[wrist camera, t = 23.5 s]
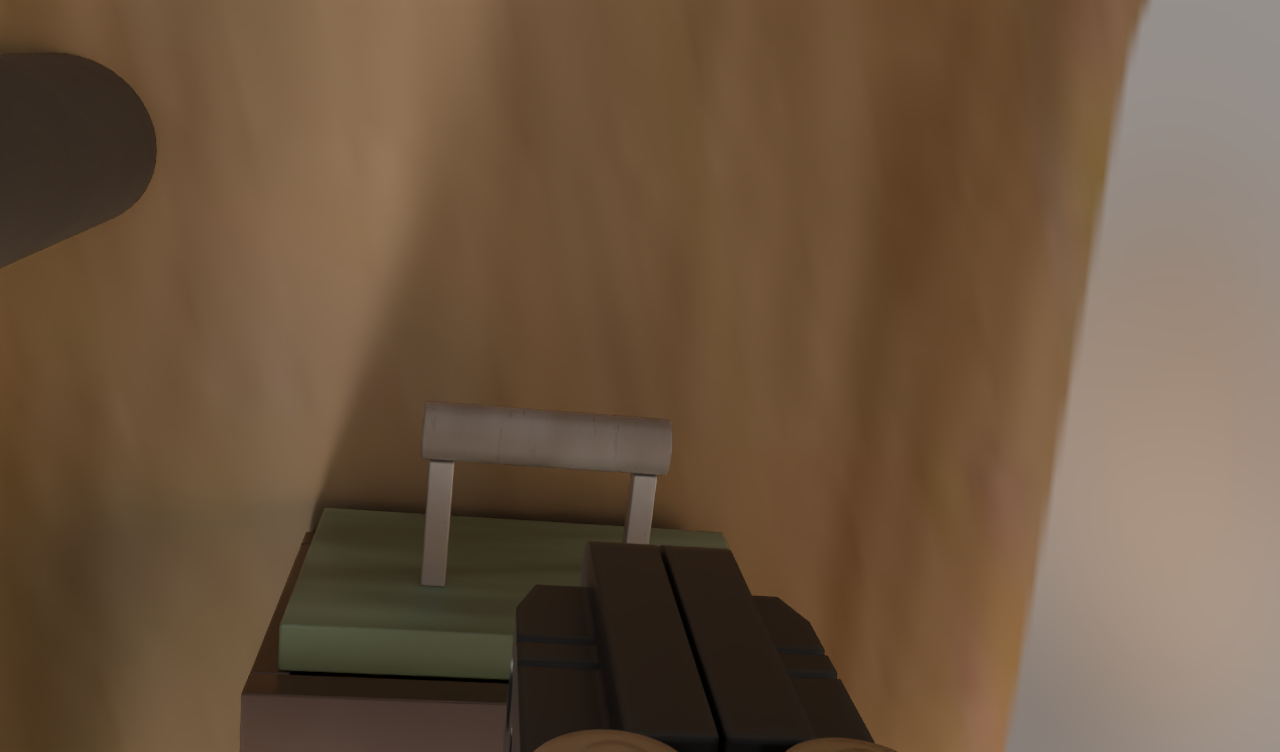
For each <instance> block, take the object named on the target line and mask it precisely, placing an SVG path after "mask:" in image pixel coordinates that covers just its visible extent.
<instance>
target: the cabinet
mask: <svg viewBox="0 0 1280 752" xmlns="http://www.w3.org/2000/svg"><path fill="white" fill-rule="evenodd" d="M314 534H315V532H306V534H305V536H304V539H303V541H302V544H301V547H300V549H299V551H298V554H297V557H296V559H295V562H294V564H293V567H292V569H291V572H290V574H289V577H288V579H287V582H286V584H285V587H284V589H283V592H282V594H281V597H280V599H279V602H278V604H277V607H276V609H275V612H274V614H273V617H272V619H271V622H270V624H269V627H268V630H267V632H266V635H265V637H264V640H263V642H262V645H261V647H260V650H259V652H258V655H257V657H256V660H255V662H254V665H253V667H252V670H251V672H250V674H249V676H248V679H247V681H246V684H245V686H244V689H243V691H242V694H241V724H240V752H503V736H504V725H505V715H506V705H507V695H508V685H509V684H507V683H483V682H458V681H434V680H409V679H384V678H360V677H335V676H325V675H326V672H306V671H282V670H279V668H278V652H279V626H280V624H281V621H282V618H283V616H284V613H285V610H286V608H287V605H288V602H289V600H290V597H291V594H292V592H293V589H294V587H295V584H296V581H297V579H298V576H299V573H300V571H301V568H302V565H303V563H304V560H305V558H306V555H307V552H308V550H309V547H310V544H311V542H312V539H313V536H314Z"/></svg>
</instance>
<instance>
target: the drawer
mask: <svg viewBox="0 0 1280 752" xmlns="http://www.w3.org/2000/svg"><path fill="white" fill-rule="evenodd" d="M672 440H673V436H672V425H671V422H670V420H668V419H657V418H644V417H631V416H618V415H605V414H592V413H579V412H566V411H553V410H540V409H526V408H513V407H500V406H487V405H474V404H461V403H448V402H435V401H427V402H426V404H425V411H424V420H423V431H422V446H421V457H422V458H423V459H430V462H429V475H428V488H427V502H426V514H417V513H401V512H385V511H369V510H353V509H336V508H325V509H324V510H323V513H322V515H321V518H320V521H319V523H318V526H317V528H316V531H315V534H314V536H313V539H312V542H311V544H310V547H309V550H308V552H307V555H306V558H305V560H304V563H303V565H302V568H301V571H300V573H299V576H298V579H297V581H296V584H295V587H294V589H293V592H292V594H291V597H290V600H289V602H288V605H287V608H286V610H285V613H284V616H283V618H282V621H281V624H280V626H279V652H278V668H279V670H282V671H306V672H326V675H325V676H335V677H360V678H384V679H409V680H434V681H458V682H483V683H507V684H509V674H510V664H511V654H512V644H513V634H514V623H515V613H516V607H517V606H518V605H519V604H520V602H521V601H522V600H523V599H524V598H525V596H526V595H527V594H528V593H529V592H530V591H531V589H532V588H533V587H534V586H535V585H536V584H539V585H558V586H577V587H580V579H581V571H582V562H583V556H584V551H585V546H586V543H587V541H601V542H617V543H634V544H651V545H657V546H658V548H659V546H660V545H671V546H688V547H705V548H721V549H729V547H728V545H727V543H726V541H725V539H724V537H723V534H722V533H721V532H708V531H692V530H676V529H660V528H651V523H652V515H653V508H654V500H655V492H656V485H657V476H656V475H666V474H667V472H668V470H669V466H670V461H671V455H672ZM455 461H463V462H477V463H492V464H506V465H521V466H535V467H550V468H564V469H579V470H593V471H608V472H622V473H631V476H630V484H629V493H628V501H627V509H626V517H625V525H624V526H611V525H595V524H579V523H563V522H547V521H530V520H514V519H498V518H482V517H466V516H451V504H452V491H453V479H454V466H455Z"/></svg>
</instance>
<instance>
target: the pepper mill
mask: <svg viewBox="0 0 1280 752" xmlns="http://www.w3.org/2000/svg"><path fill="white" fill-rule="evenodd" d="M156 151H157V150H156V138H155V133H154V128H153V125H152V122H151V119H150V116H149V114H148V112H147V110H146V108H145V106H144V104H143V103H142V101H141V100H140V98H139V97H138V95H137V94H136V93H135V92H134V90H133V89H132V88H131V87H130V86H129V85H128V84H127V83H126V82H125V81H124V80H123V79H122V78H121V77H119V76H118V75H117V74H115V73H114V72H113V71H111V70H109V69H108V68H106V67H104V66H103V65H101V64H99V63H96V62H94V61H92V60H89V59H86V58H83V57H80V56H75V55H69V54H57V53H44V54H0V268H2V267H4V266H6V265H8V264H11V263H13V262H15V261H17V260H20V259H22V258H24V257H27V256H29V255H31V254H33V253H36V252H38V251H40V250H42V249H45V248H47V247H49V246H51V245H54V244H56V243H58V242H60V241H63V240H65V239H67V238H70V237H72V236H74V235H76V234H79V233H81V232H83V231H85V230H88V229H90V228H92V227H94V226H97V225H99V224H101V223H103V222H106V221H108V220H110V219H113V218H114V217H116V216H118V215H120V214H122V213H123V212H125V211H126V210H127V209H129V208H130V207H131V206H132V205H133V204H134V203H135V202H136V201H137V200H138V199H139V198H140V197H141V195H142V194H143V193H144V192H145V190H146V188H147V186H148V184H149V182H150V180H151V177H152V175H153V172H154V167H155V163H156Z"/></svg>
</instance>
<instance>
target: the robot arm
mask: <svg viewBox="0 0 1280 752" xmlns="http://www.w3.org/2000/svg"><path fill="white" fill-rule="evenodd" d="M824 651H825V650H824V648H823V646H822V644H821V643H820V641H819V639H818V637H817V635H816V633H815V631H814V630H813V628H812V626H811V624H810V622H809V621H807V620H806V619H805V618H803V617H802V616H801V615H800V614H798V613H797V612H796V611H794V610H793V609H792V608H791V607H789V606H788V605H787V604H785V603H784V602H783V601H782V600H780V599H779V598H778V597H767V596H752V595H751V593H750V591H749V589H748V586H747V584H746V582H745V580H744V578H743V576H742V573H741V571H740V569H739V567H738V565H737V563H736V561H735V558H734V556H733V554H732V552H731V551H730V550H729V549H721V548H705V547H688V546H671V545H660V546H659V548H658V546H657V545H651V544H634V543H617V542H601V541H587V543H586V546H585V551H584V556H583V562H582V571H581V579H580V587H577V586H558V585H539V584H536V585H535V586H534V587H533V588H532V589H531V591H530V592H529V593H528V594H527V595H526V596H525V598H524V599H523V600H522V601H521V602H520V604H519V605H518V606H517V607H516V613H515V623H514V634H513V644H512V654H511V664H510V674H509V685H508V695H507V705H506V715H505V725H504V736H503V752H897V751H895V750H893V749H890V748H888V747H885V746H882V745H879V744H876V743H875V742H874V740H873V739H872V737H871V735H870V733H869V731H868V729H867V728H866V726H865V724H864V722H863V720H862V718H861V716H860V715H859V713H858V711H857V709H856V707H855V705H854V704H853V702H852V700H851V698H850V696H849V694H848V692H847V691H846V689H845V687H844V685H843V683H842V681H841V680H840V679H837V672H836V670H835V668H834V667H833V665H832V663H831V661H830V659H829V657H828V656H825V655H824Z"/></svg>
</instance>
